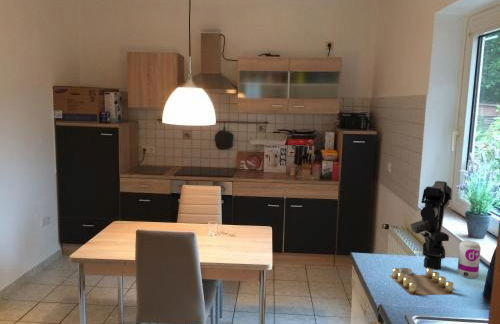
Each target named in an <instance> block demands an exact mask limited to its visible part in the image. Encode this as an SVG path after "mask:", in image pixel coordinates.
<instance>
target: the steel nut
mask: <svg viewBox="0 0 500 324" xmlns="http://www.w3.org/2000/svg"><path fill="white" fill-rule="evenodd" d="M398 269H399V272H402V273H404V274H405V275H413V269H411V268H409V267H399V268H398Z"/></svg>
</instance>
